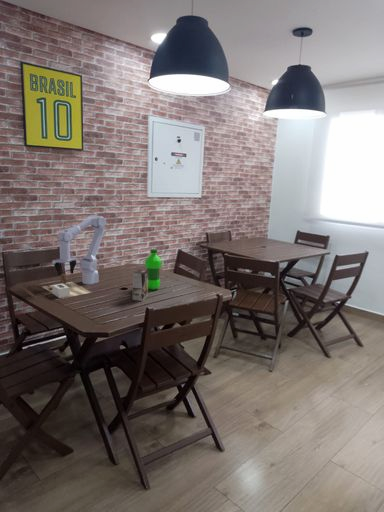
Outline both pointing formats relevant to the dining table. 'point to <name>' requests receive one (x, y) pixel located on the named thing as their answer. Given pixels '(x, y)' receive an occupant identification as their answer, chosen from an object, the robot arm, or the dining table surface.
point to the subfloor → (71, 289)
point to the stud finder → (61, 290)
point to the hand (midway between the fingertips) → (65, 274)
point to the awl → (63, 278)
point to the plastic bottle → (153, 269)
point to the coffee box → (140, 284)
